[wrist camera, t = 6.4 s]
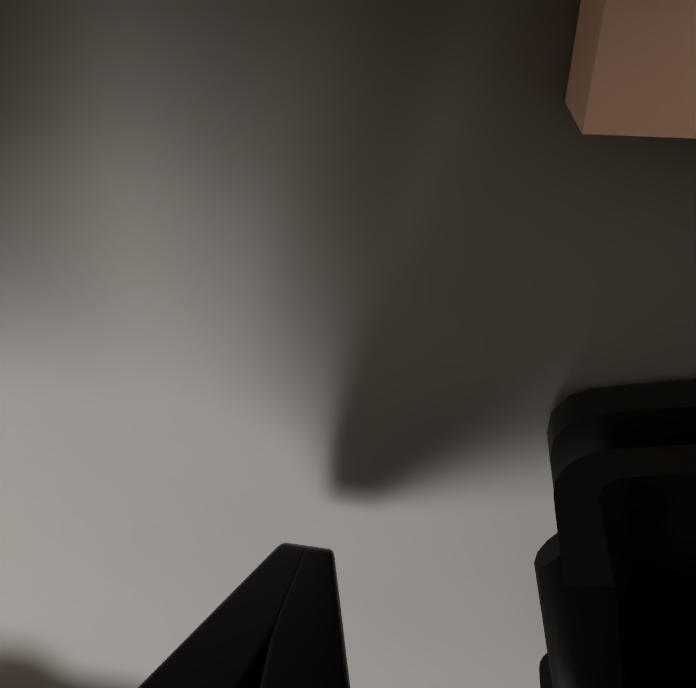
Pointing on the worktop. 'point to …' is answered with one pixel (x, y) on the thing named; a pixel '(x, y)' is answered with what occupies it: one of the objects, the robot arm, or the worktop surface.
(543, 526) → the worktop surface
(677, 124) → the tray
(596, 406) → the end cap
